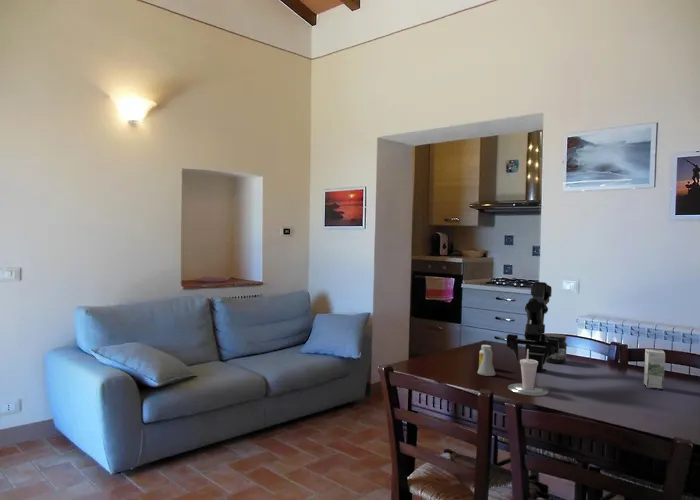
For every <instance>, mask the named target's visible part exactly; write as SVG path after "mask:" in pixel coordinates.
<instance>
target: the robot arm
mask: <svg viewBox="0 0 700 500" xmlns="http://www.w3.org/2000/svg"><path fill="white" fill-rule="evenodd" d="M530 296H532V297H531V298H529V299H528V302H526V304H525V307H524V310H525V312H526V318H527V319H526V324H525V330H524V335H523V336H524V338H520V337H519V336H518V334H512V333H508V334H507V335H506V347H507V348H509V349H510V350H513V353H514V355H515V359H516V362H519V345H525V353H524V354H525V356H527V349H529V355H528V359H532V360H536V361H538V365H537V370H536V373H542V372H546V371H547V369H546V368H543V367H544V365H545V364H546V363H547V362H546V361H547V359H548V358H549V357H550V356H551V355H552V354H555V353H558V352H559V341H558V339H550V338H548V341H547V342H546V339H545V335H544V334H546V332H545V331H546V324H544V321H545V314H547V313H548V312H549V307H548V306H547V305H548V304H549V302H550V298H551V297H552V286H551V285H549V284H547V282H545V281H544V282H542V281H535V282H534V283H533V284H531V286H530ZM544 353H545V354H544ZM543 357H544V358H543Z"/></svg>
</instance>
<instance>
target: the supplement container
mask: <svg viewBox="0 0 700 500" xmlns="http://www.w3.org/2000/svg"><path fill="white" fill-rule="evenodd" d="M544 335H545V339H546V342H547V341H548V338H550V339H558V341H559V352H558V353H555V354H552V355H551V356H550V357H549V358H548V359H547V361H546V362H545V363H550V364H557V365H558V364H559V365H560V364H562V365H563V364H565V363H566V361H567V346H568V344H567V342H566V341H567V336H565V335H563V334H560V333H559V334H558V333H544ZM544 354H545V353H544ZM543 358H544V357H543Z"/></svg>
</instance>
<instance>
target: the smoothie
mask: <svg viewBox="0 0 700 500" xmlns="http://www.w3.org/2000/svg"><path fill="white" fill-rule="evenodd" d="M519 364H520V370H521V371H520V372H521V380H522V381H521V383H523V387H524V388H527V389H533V388H534V385H535V380H536V375H537V372H536V370H537V365H538V361H536V360H532V359H529V349H527V355H526V358H521V359H519Z"/></svg>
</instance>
